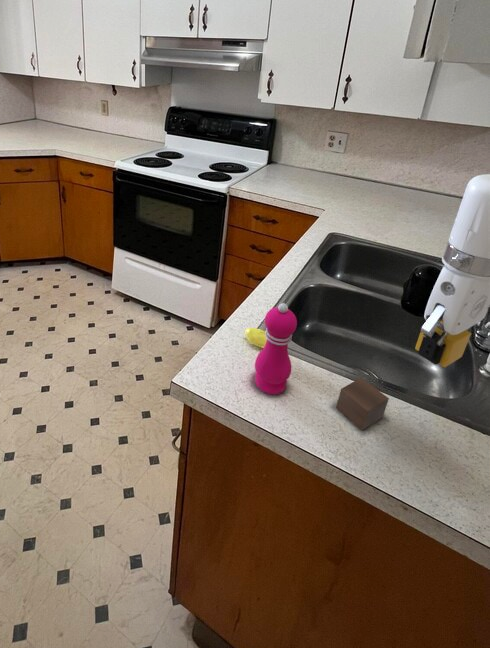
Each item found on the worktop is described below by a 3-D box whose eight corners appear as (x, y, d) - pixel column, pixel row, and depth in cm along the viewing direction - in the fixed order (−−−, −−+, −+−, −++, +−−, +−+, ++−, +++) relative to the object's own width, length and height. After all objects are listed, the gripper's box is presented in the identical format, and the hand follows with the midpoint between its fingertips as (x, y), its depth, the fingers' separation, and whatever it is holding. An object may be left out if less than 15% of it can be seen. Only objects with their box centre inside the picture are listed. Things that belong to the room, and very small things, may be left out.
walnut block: (356, 395, 86) (361, 377, 84) (382, 417, 81) (389, 398, 79) (335, 407, 83) (340, 388, 81) (362, 430, 78) (368, 411, 76)
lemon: (269, 357, 95) (272, 344, 93) (240, 340, 100) (242, 327, 98) (279, 348, 98) (282, 335, 96) (250, 332, 103) (252, 319, 101)
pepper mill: (245, 376, 90) (256, 298, 81) (272, 366, 93) (285, 289, 84) (267, 401, 84) (281, 320, 75) (295, 389, 87) (312, 309, 78)
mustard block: (431, 339, 74) (440, 316, 72) (461, 357, 70) (471, 333, 68) (414, 348, 72) (422, 325, 70) (444, 367, 68) (454, 343, 66)
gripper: (469, 285, 56) (430, 387, 64) (530, 255, 64) (489, 349, 72) (415, 260, 62) (385, 356, 70) (477, 235, 70) (444, 324, 78)
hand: (438, 351), depth 71 cm, fingers closed on mustard block, 5 cm apart
